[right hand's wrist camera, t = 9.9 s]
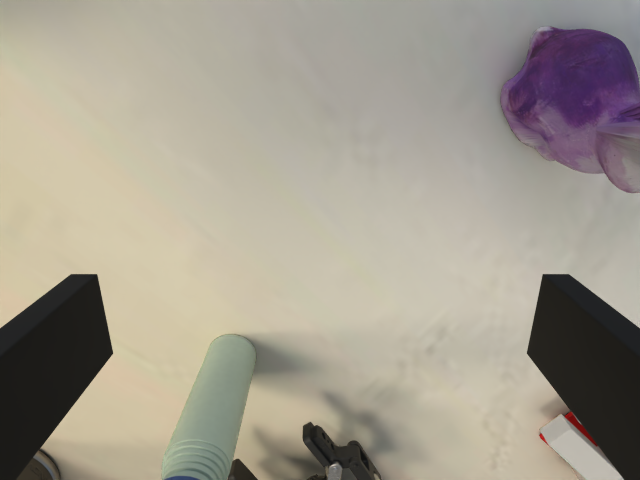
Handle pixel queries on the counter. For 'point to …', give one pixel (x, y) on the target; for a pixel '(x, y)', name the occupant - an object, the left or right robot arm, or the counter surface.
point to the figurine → (579, 103)
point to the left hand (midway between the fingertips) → (268, 449)
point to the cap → (181, 478)
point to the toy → (578, 448)
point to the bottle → (212, 413)
